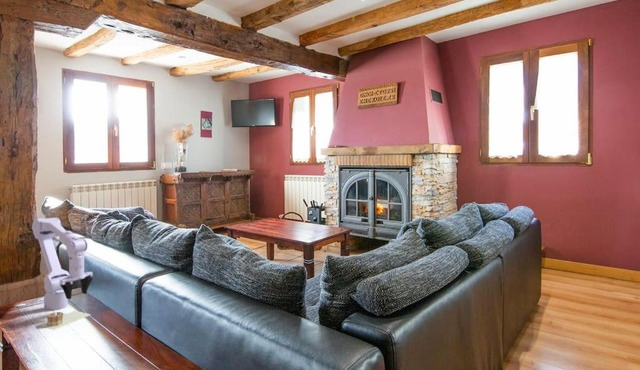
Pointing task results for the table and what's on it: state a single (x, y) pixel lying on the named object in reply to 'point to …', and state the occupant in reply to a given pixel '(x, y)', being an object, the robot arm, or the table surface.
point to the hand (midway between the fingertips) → (76, 295)
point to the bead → (55, 319)
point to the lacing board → (66, 319)
